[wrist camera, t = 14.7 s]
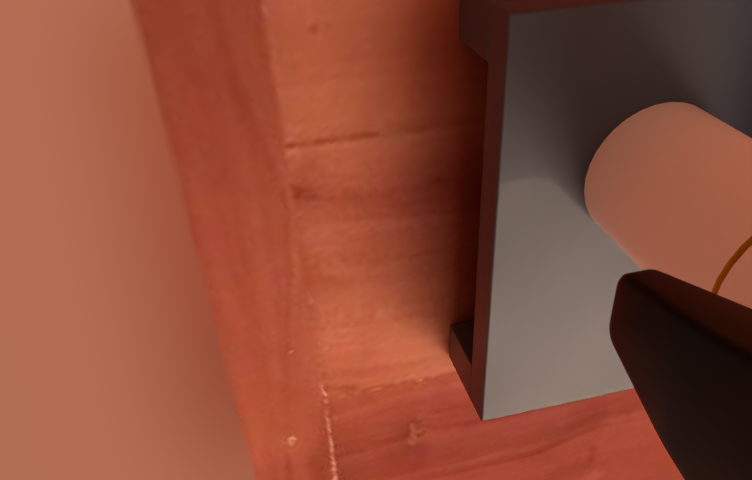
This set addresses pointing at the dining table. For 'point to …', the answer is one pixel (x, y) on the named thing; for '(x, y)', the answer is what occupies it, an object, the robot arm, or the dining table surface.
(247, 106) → the dining table surface
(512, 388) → the shelf
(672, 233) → the tube
